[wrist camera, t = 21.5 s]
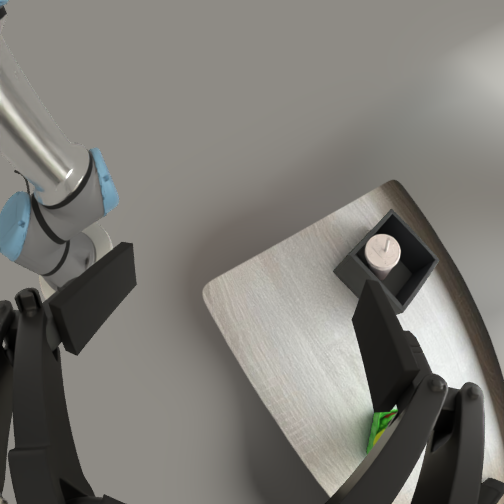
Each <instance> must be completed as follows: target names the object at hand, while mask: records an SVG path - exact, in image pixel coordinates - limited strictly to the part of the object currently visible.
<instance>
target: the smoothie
mask: <svg viewBox="0 0 504 504" xmlns="http://www.w3.org/2000/svg"><path fill="white" fill-rule="evenodd" d="M365 257H366V260H367V262H368V265H369V270H370V271H371V272H372V273H373V274H374V275H375V276H376V277H377V278H378V279H379V280H383V279H385V278H386V276H387V275H388V273H389V272H390V270H391V269H392V267H394V266H395V265H396V264H397V262H398V261H399V258H400V246H399V244H398V242H397V241H396V240H395V239H394V238H393V237H391V236H389V235H386V234H378V235H375V236H373V237H372V238H370V239H369V241H368V242H367V244H366V247H365Z"/></svg>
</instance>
